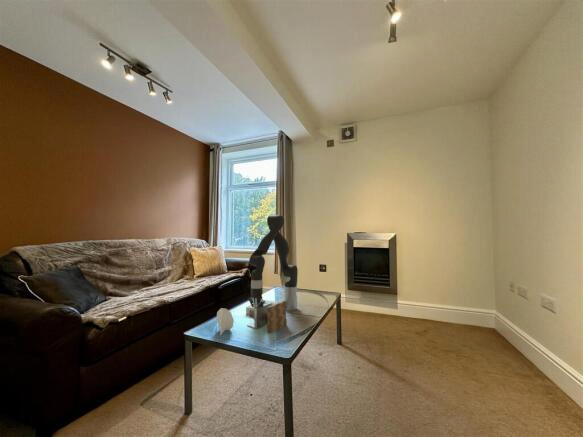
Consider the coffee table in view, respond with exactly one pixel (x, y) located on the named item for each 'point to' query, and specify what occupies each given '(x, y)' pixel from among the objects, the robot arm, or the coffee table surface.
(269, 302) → the skincare box
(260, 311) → the bookend
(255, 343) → the coffee table surface
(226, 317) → the white faceted rounded block
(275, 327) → the end panel
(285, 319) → the shelf rail
